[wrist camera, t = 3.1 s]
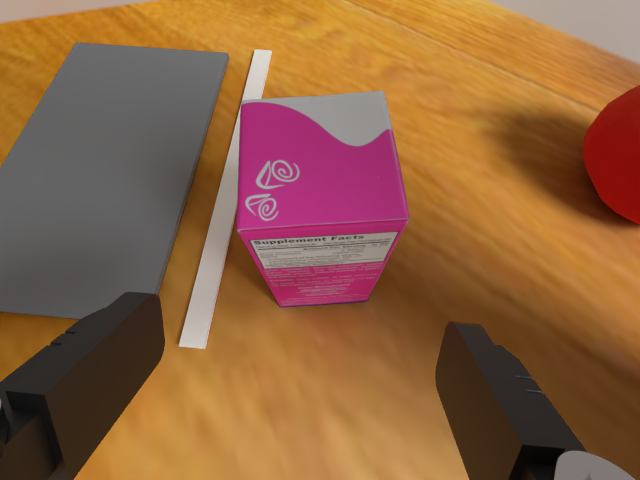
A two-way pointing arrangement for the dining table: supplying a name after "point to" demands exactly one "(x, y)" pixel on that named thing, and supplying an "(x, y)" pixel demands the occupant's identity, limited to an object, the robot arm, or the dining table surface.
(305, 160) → the supplement box
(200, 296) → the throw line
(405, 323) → the dining table surface
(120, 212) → the mat
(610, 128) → the tomato
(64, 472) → the robot arm
